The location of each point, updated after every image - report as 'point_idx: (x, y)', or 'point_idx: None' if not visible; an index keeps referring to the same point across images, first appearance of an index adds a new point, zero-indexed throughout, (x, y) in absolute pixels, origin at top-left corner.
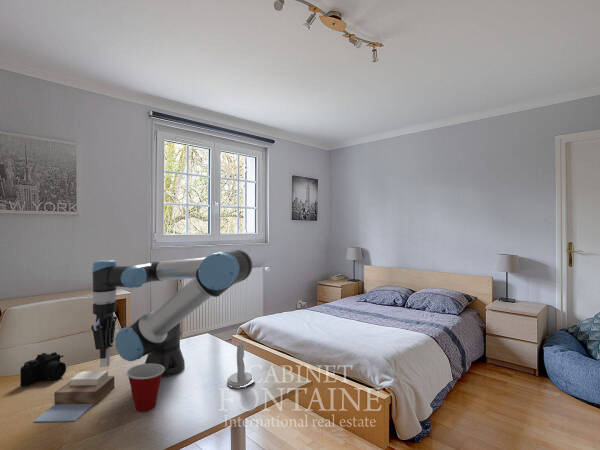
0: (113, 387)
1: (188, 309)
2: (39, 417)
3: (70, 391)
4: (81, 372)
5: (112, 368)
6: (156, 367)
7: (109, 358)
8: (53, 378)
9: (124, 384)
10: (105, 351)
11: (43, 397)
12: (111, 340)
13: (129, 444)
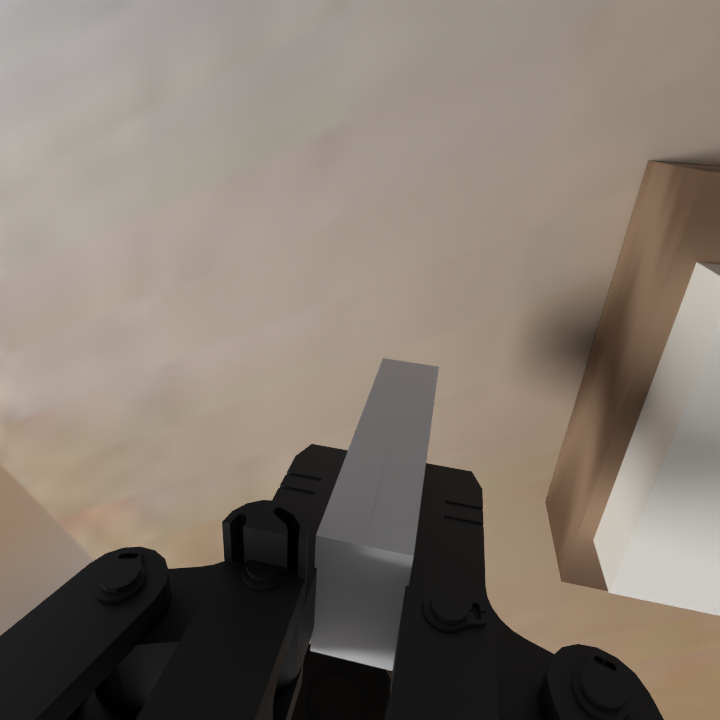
0: (671, 163)
1: None
2: None
3: None
4: (644, 588)
5: (175, 359)
6: None
7: (369, 404)
8: (378, 675)
9: (594, 59)
10: (419, 545)
11: (646, 647)
12: (123, 639)
13: None
